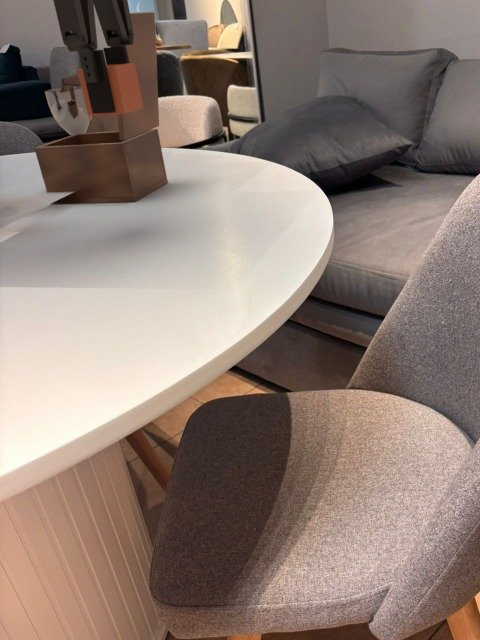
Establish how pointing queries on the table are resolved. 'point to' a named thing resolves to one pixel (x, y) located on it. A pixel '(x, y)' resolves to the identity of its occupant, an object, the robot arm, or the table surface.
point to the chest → (102, 167)
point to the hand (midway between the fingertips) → (115, 108)
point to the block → (118, 89)
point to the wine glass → (69, 109)
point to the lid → (142, 77)
